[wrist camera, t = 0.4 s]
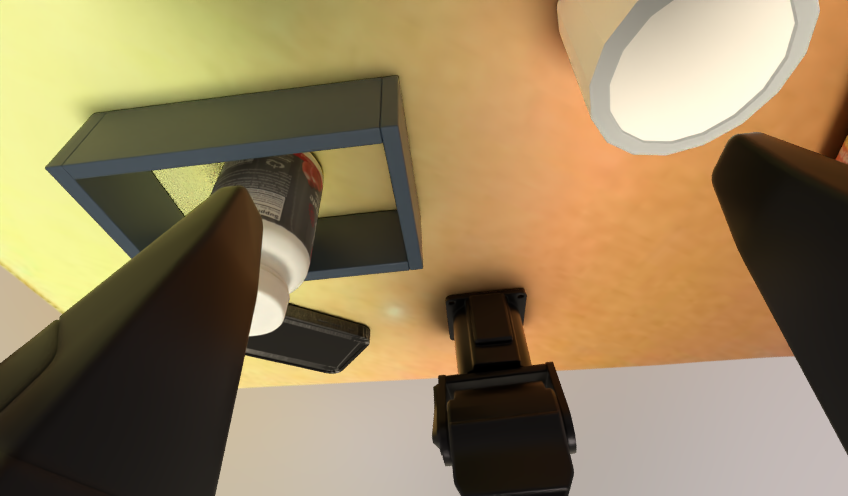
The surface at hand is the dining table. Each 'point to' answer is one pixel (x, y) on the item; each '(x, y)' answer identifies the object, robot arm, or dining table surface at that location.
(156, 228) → the bin
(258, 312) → the pill bottle
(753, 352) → the dining table surface
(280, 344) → the phone
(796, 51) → the white cup
